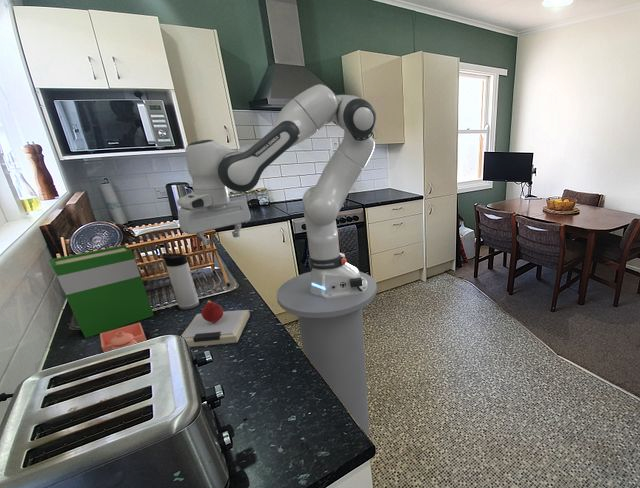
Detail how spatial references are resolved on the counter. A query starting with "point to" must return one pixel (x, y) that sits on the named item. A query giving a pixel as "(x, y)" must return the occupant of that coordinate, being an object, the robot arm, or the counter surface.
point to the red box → (122, 337)
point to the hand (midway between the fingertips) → (222, 240)
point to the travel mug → (181, 281)
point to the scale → (216, 329)
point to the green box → (103, 289)
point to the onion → (212, 312)
